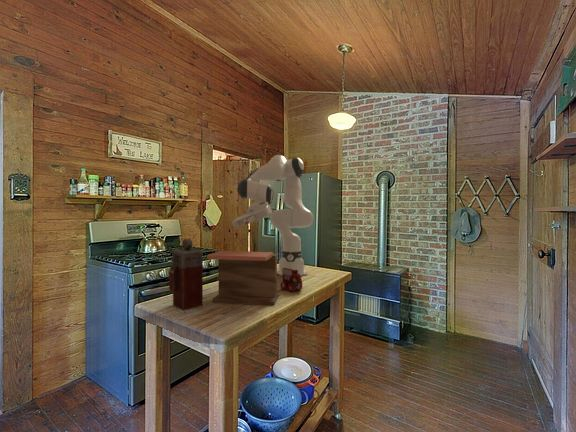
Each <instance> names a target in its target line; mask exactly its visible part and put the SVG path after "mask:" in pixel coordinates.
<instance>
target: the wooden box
mask: <svg viewBox="0 0 576 432" xmlns="http://www.w3.org/2000/svg"><path fill="white" fill-rule="evenodd" d="M217 260H218V294H216V295H215V296H214V297H213V298H212V303H217V304H218V303H220V304H221V303H222V304H223V303H224V304H238V305H239V304H240V305H262V306H275V304H276V302H277V300H278V299H279V297H280V292H279V291H278V274H277V271H278V253H273V256H272V257H271V258H269V259H268V260H267V261H257V260H251V261H226V260H225V259H217Z"/></svg>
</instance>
